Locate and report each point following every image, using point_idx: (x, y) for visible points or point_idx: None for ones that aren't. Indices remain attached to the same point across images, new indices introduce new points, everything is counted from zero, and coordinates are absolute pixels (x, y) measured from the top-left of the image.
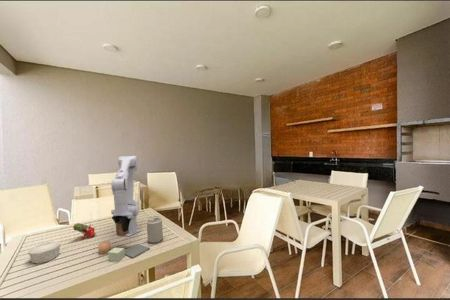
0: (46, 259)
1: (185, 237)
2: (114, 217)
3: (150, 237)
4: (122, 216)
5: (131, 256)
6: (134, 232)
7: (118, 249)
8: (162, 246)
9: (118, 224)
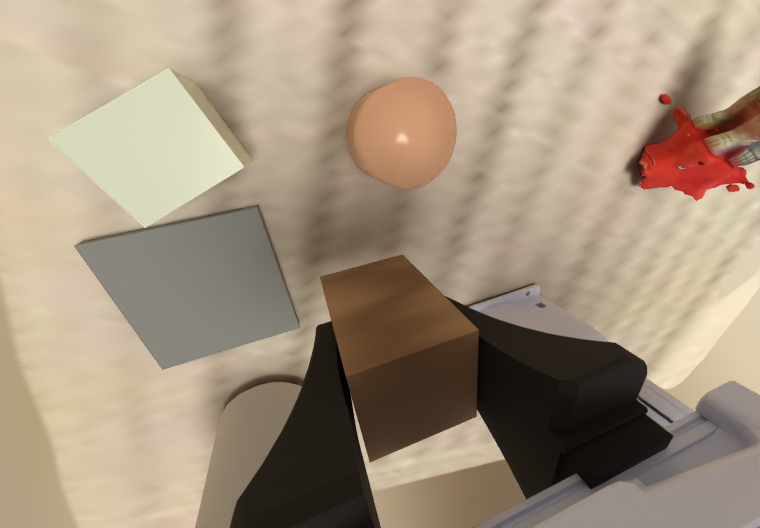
0: None
1: (169, 523)
2: (573, 397)
3: (241, 418)
4: (518, 465)
5: (100, 241)
6: None
7: (159, 178)
8: (143, 424)
9: (399, 347)
